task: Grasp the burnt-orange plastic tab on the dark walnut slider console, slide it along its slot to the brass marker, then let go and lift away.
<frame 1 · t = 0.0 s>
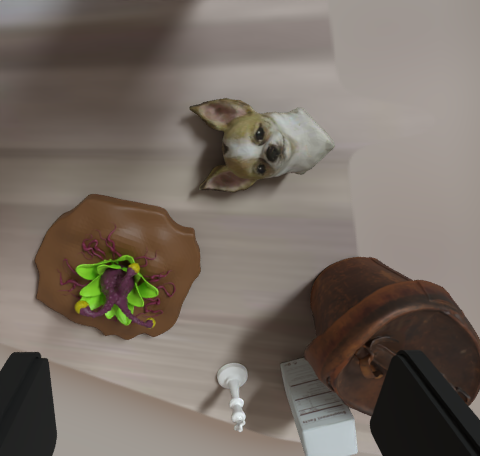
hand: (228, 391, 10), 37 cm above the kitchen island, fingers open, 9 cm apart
supplement box: (303, 372, 61), on the kitchen island
plant: (121, 265, 49), on the kitchen island
brown flower pot: (347, 291, 55), on the kitchen island
chess piece: (232, 373, 59), on the kitchen island
ceramic sculpture: (254, 140, 45), on the kitchen island
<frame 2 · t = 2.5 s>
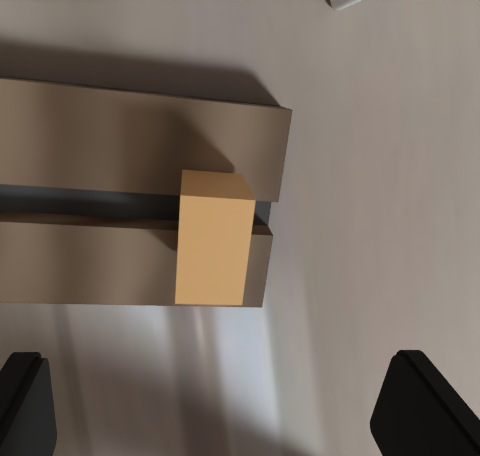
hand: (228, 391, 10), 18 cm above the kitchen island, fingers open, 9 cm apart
fader tab: (209, 227, 22), point 5 cm above the kitchen island, slide at -8.0 cm
slider console: (90, 193, 25), on the kitchen island
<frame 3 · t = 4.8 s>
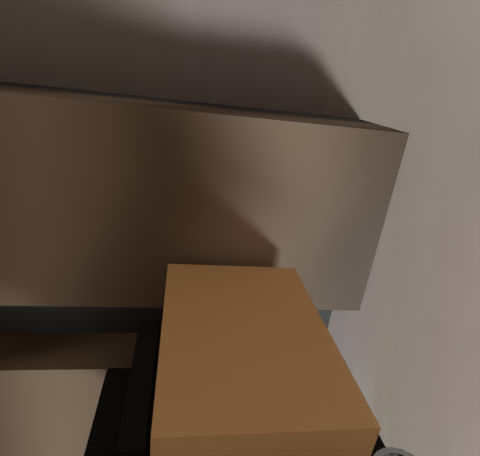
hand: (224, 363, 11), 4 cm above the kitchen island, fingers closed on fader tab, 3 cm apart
fader tab: (228, 389, 10), point 5 cm above the kitchen island, slide at -8.0 cm, touching gripper
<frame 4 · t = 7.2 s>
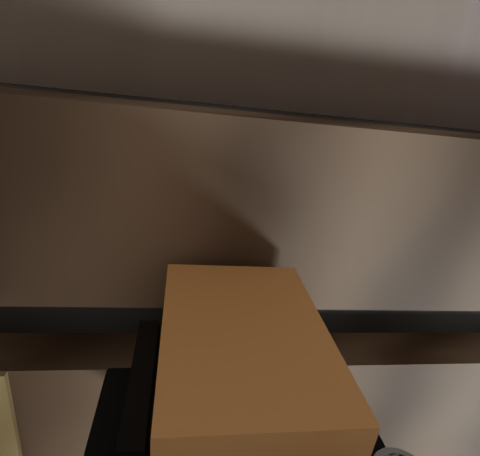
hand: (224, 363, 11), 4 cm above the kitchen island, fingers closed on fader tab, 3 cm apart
fader tab: (228, 389, 10), point 5 cm above the kitchen island, slide at 1.0 cm, touching gripper
slider console: (240, 289, 15), on the kitchen island
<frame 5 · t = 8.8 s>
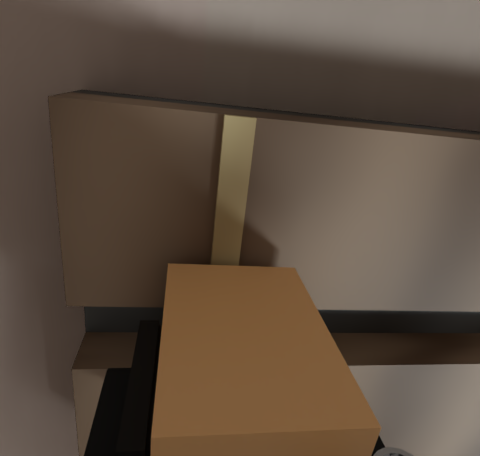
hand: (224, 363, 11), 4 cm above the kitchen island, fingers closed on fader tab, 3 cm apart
fader tab: (228, 389, 10), point 5 cm above the kitchen island, slide at 7.8 cm, touching gripper
slider console: (394, 292, 16), on the kitchen island
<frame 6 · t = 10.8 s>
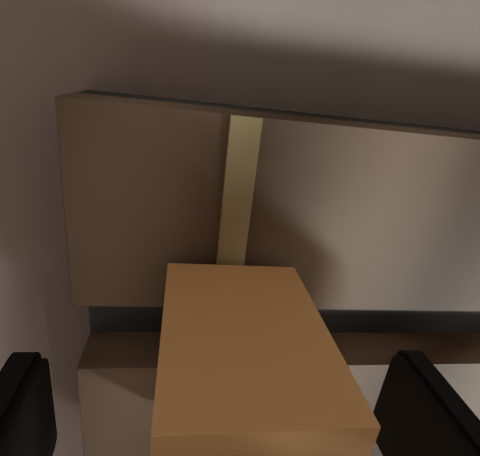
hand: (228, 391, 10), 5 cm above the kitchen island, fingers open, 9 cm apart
fader tab: (228, 388, 10), point 5 cm above the kitchen island, slide at 8.0 cm
slider console: (397, 292, 16), on the kitchen island
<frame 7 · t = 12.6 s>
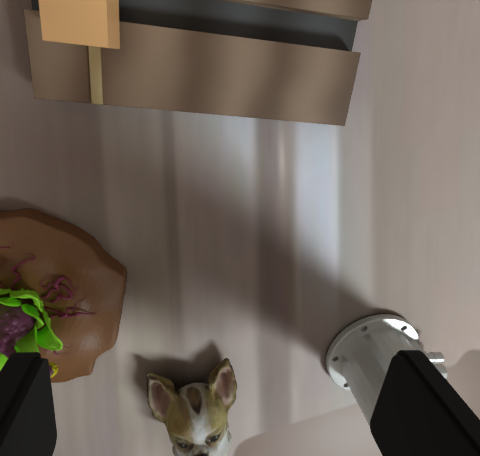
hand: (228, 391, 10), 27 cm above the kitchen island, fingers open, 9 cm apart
plant: (28, 293, 38), on the kitchen island
slider console: (204, 18, 29), on the kitchen island
ceramic sculpture: (195, 393, 48), on the kitchen island
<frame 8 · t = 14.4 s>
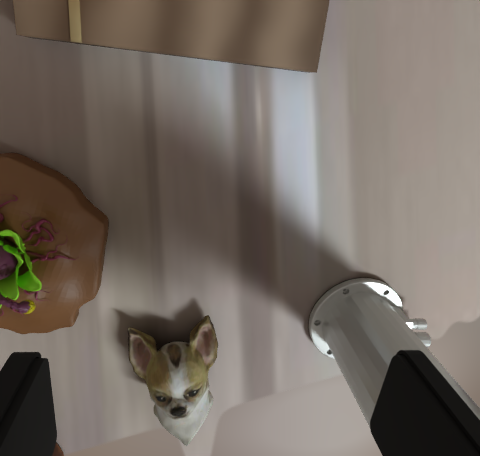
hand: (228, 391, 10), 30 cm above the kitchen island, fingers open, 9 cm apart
plant: (13, 241, 39), on the kitchen island
ceramic sculpture: (178, 355, 48), on the kitchen island
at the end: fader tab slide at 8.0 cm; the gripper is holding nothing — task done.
